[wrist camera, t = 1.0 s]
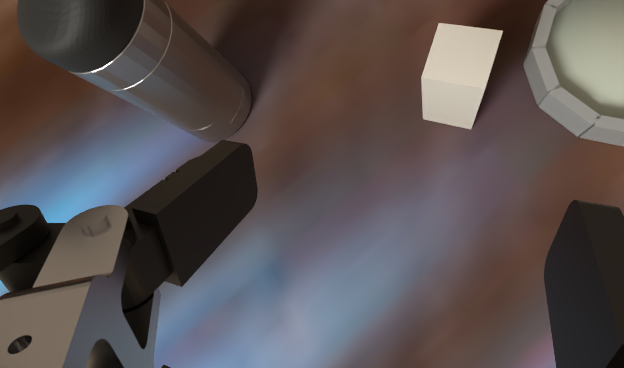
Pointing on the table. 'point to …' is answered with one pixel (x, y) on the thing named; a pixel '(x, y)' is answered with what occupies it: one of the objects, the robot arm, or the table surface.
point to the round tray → (580, 66)
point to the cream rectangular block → (457, 73)
